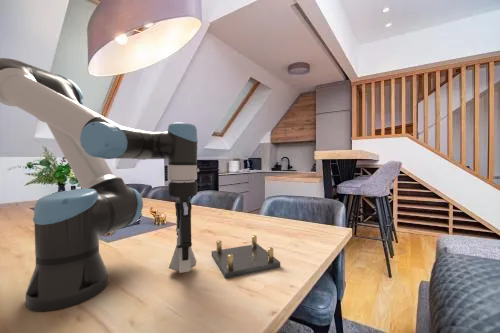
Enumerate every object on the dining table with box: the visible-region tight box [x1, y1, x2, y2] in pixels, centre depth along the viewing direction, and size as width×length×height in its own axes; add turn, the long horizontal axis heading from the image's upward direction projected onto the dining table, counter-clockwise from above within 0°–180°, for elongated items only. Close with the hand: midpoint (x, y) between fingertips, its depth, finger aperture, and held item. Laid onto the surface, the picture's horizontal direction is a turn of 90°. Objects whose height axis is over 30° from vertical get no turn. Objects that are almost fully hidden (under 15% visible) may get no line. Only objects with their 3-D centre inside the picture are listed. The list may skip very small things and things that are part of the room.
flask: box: [168, 228, 197, 272], centre depth 63 cm, size 7×7×10 cm
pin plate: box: [211, 235, 281, 280], centre depth 69 cm, size 16×16×5 cm
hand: (183, 264), depth 63 cm, fingers closed on flask, 7 cm apart
